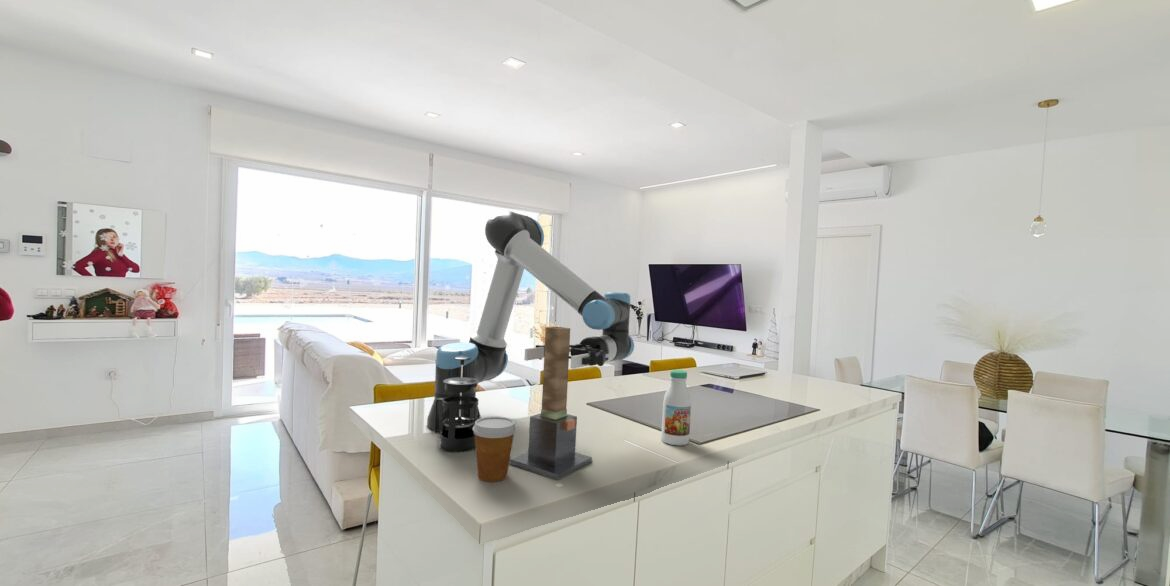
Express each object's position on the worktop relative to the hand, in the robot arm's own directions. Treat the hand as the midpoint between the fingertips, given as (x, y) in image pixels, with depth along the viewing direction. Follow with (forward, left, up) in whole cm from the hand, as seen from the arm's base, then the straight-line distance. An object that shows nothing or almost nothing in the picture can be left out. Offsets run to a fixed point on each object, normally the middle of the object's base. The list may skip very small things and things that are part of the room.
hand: (548, 358), depth 114 cm
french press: (-25, -8, -26) cm, 36 cm away
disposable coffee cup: (-3, -12, -26) cm, 29 cm away
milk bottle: (+9, +41, -26) cm, 50 cm away
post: (-1, +3, -17) cm, 17 cm away
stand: (-1, +3, -25) cm, 26 cm away
